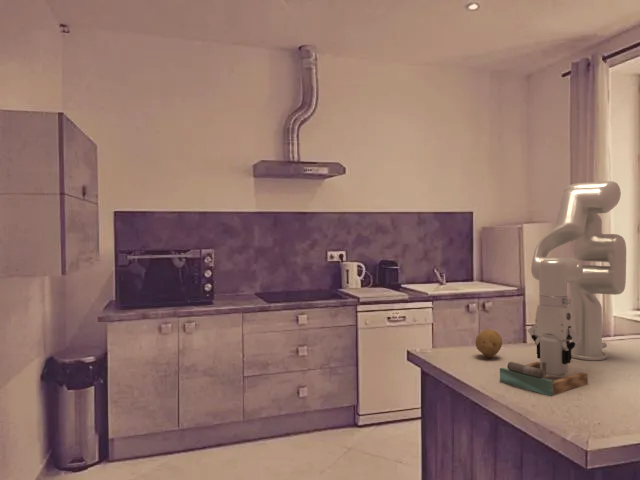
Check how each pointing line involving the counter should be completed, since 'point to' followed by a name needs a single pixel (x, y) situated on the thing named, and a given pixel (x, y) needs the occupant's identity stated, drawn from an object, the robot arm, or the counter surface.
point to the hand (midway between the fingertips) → (553, 360)
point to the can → (552, 355)
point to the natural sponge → (488, 342)
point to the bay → (539, 378)
